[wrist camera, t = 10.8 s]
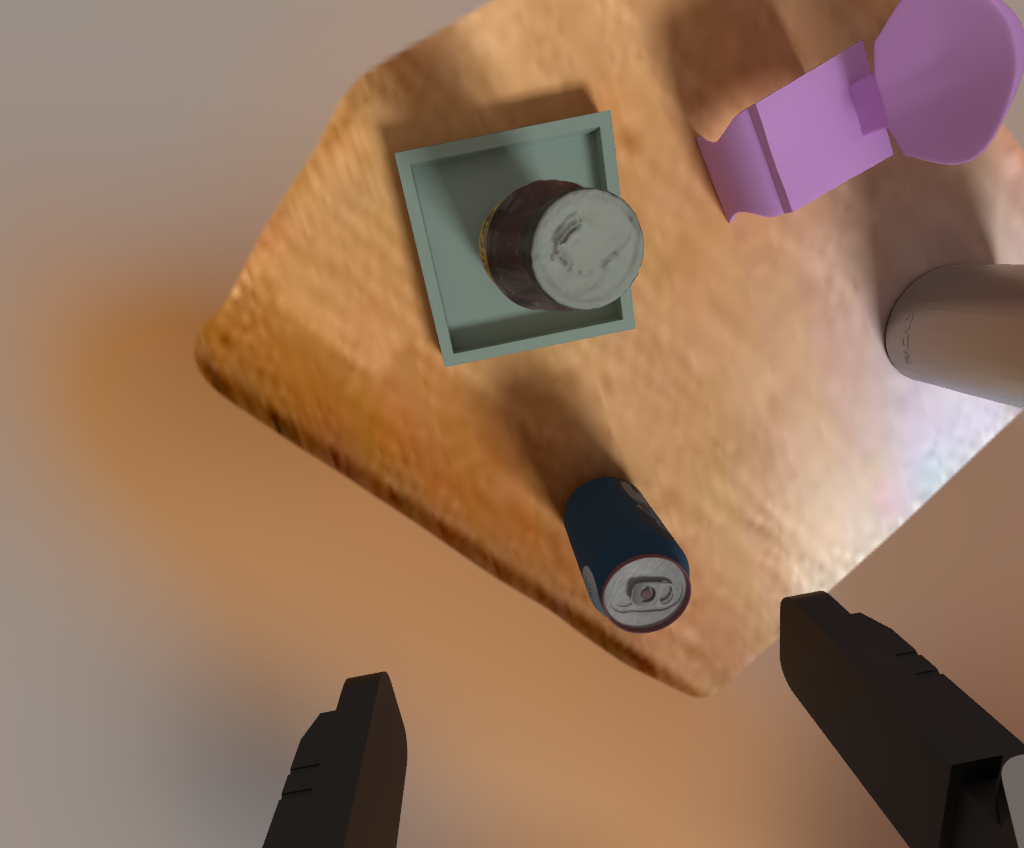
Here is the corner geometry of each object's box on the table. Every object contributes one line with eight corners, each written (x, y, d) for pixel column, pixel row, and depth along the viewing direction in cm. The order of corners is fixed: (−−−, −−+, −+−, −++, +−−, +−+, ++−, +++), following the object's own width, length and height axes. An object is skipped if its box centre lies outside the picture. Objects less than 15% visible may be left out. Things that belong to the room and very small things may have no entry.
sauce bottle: (465, 216, 35) (461, 164, 16) (551, 186, 35) (649, 98, 16) (495, 308, 37) (523, 358, 18) (577, 280, 37) (690, 301, 18)
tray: (602, 119, 34) (610, 109, 32) (626, 324, 38) (635, 328, 36) (399, 159, 34) (394, 153, 32) (446, 361, 38) (444, 367, 36)
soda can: (557, 543, 44) (586, 641, 32) (565, 469, 42) (599, 546, 30) (635, 544, 44) (690, 641, 33) (646, 472, 42) (710, 549, 31)
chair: (683, 127, 35) (829, 33, 20) (800, 57, 34) (1038, -93, 20) (726, 239, 37) (884, 224, 23) (837, 176, 36) (1072, 120, 22)
